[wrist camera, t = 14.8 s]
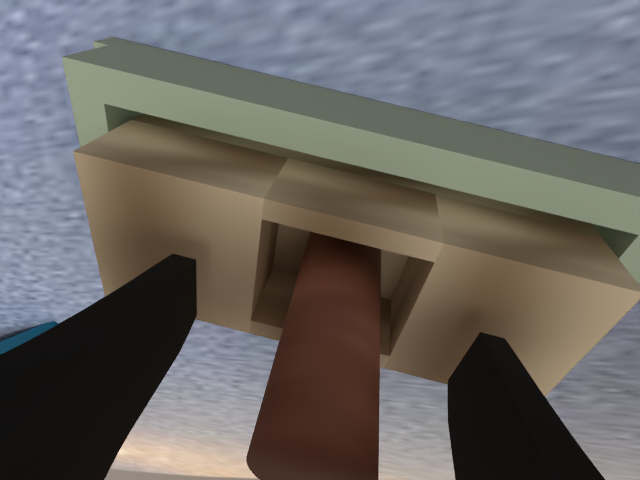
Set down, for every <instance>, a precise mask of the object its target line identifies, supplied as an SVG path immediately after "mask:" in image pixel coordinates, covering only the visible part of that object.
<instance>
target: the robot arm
mask: <svg viewBox="0 0 640 480" xmlns="http://www.w3.org/2000/svg"><path fill="white" fill-rule="evenodd" d="M196 316H197V281H196V259H192V258H188V257H184V256H181V255H177V254H171V255H169V256H168V257H166V258H165V259H163V260H161V261H160V262H158V263H157V264H155V265H154V266H152V267H151V268H149V269H148V270H146V271H145V272H143V273H141V274H140V275H138V276H137V277H135V278H134V279H132V280H131V281H129V282H128V283H126V284H124V285H123V286H121V287H120V288H118V289H117V290H115V291H113V292H112V293H110V294H108V295H107V296H105V297H104V298H102V299H100V300H99V301H97V302H96V303H94V304H92V305H91V306H89V307H87V308H86V309H84V310H82V311H81V312H79V313H77V314H75V315H73V316H72V317H70V318H68V319H66V320H65V321H63V322H61V323H59V324H58V325H56V326H54V327H52V328H50V329H49V330H47V331H45V332H43V333H41V334H40V335H38V336H36V337H34V338H32V339H30V340H28V341H26V342H24V343H23V344H21V345H19V346H17V347H15V348H13V349H11V350H9V351H7V352H5V353H3V354H0V480H104V479H105V477H106V475H107V473H108V471H109V469H110V467H111V465H112V463H113V461H114V459H115V457H116V455H117V453H118V452H119V450H120V448H121V446H122V445H123V443H124V441H125V439H126V438H127V436H128V434H129V432H130V431H131V429H132V428H133V426H134V424H135V423H136V421H137V420H138V418H139V416H140V415H141V413H142V412H143V410H144V408H145V407H146V405H147V404H148V402H149V400H150V399H151V397H152V396H153V394H154V392H155V391H156V389H157V388H158V386H159V384H160V383H161V381H162V380H163V378H164V376H165V375H166V373H167V372H168V370H169V368H170V367H171V365H172V363H173V362H174V360H175V359H176V357H177V355H178V354H179V352H180V350H181V348H182V346H183V344H184V342H185V340H186V338H187V336H188V334H189V331H190V329H191V327H192V325H193V323H194V320H195V318H196ZM448 424H449V433H450V440H451V448H452V456H453V464H454V471H455V478H456V480H605V479H604V478H603V476H602V475H601V474H600V472H599V471H598V470H597V469H596V467H595V466H594V465H593V463H592V462H591V461H590V459H589V458H588V457H587V455H586V454H585V453H584V451H583V450H582V449H581V447H580V446H579V445H578V443H577V442H576V440H575V439H574V438H573V436H572V435H571V434H570V432H569V431H568V429H567V428H566V427H565V425H564V424H563V422H562V421H561V419H560V418H559V417H558V415H557V414H556V412H555V411H554V409H553V408H552V407H551V405H550V404H549V402H548V401H547V399H546V398H545V396H544V395H543V393H542V392H541V391H540V389H539V388H538V386H537V385H536V383H535V382H534V380H533V379H532V377H531V376H530V374H529V373H528V371H527V370H526V368H525V367H524V365H523V364H522V362H521V361H520V359H519V358H518V356H517V355H516V354H515V352H514V351H513V349H512V348H511V346H510V345H509V344H508V342H507V341H506V339H505V338H502V337H498V336H494V335H490V334H486V333H482V332H480V333H479V334H478V336H477V337H476V339H475V340H474V342H473V343H472V345H471V346H470V348H469V349H468V351H467V352H466V354H465V355H464V357H463V358H462V360H461V361H460V363H459V364H458V366H457V367H456V369H455V370H454V372H453V373H452V375H451V376H450V378H449V379H448Z"/></svg>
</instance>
